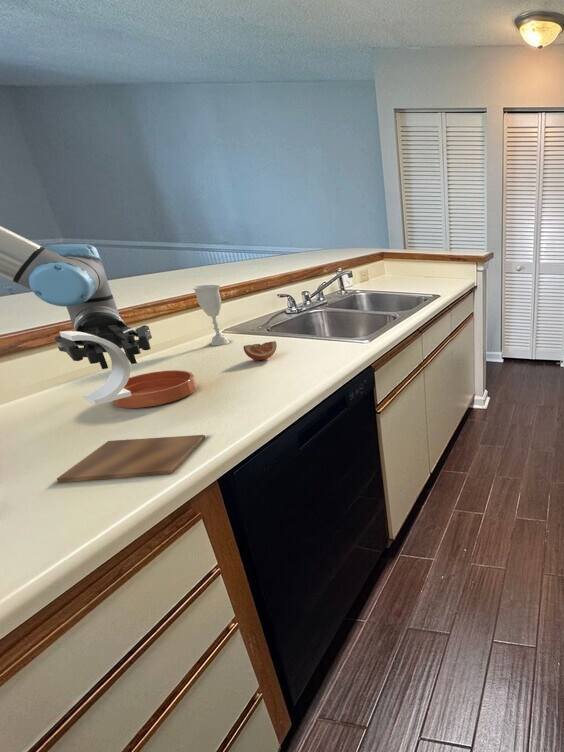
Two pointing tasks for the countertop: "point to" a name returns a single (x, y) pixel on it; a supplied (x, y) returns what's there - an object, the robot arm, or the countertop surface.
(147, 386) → the bowl
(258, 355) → the fruit slice
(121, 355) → the headphone stand
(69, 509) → the countertop surface
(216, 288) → the chalice
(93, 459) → the wooden board
